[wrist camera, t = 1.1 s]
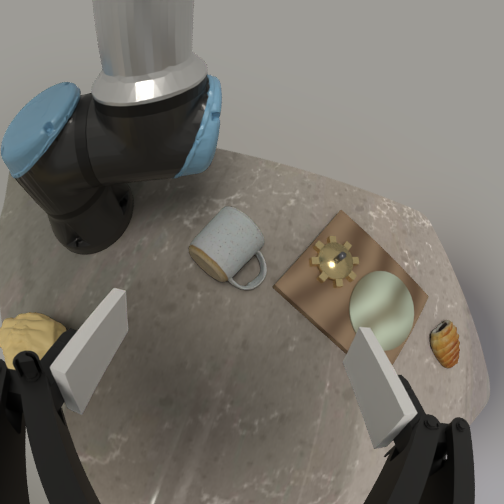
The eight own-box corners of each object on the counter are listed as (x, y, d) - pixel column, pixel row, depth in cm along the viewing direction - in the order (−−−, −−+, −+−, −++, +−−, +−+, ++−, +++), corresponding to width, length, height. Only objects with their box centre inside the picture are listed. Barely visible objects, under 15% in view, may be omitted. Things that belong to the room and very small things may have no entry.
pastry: (457, 355, 40) (470, 354, 36) (439, 376, 38) (453, 376, 34) (443, 318, 42) (456, 314, 39) (424, 336, 40) (437, 334, 37)
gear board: (272, 287, 40) (275, 283, 38) (337, 213, 46) (342, 208, 44) (376, 380, 36) (383, 381, 34) (423, 298, 43) (430, 295, 41)
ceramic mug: (186, 258, 39) (182, 238, 32) (222, 221, 42) (225, 195, 35) (242, 305, 38) (250, 295, 31) (276, 264, 41) (290, 245, 34)
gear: (298, 263, 40) (306, 254, 37) (327, 229, 43) (336, 219, 39) (337, 298, 39) (348, 293, 36) (363, 262, 42) (375, 254, 38)
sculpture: (83, 318, 34) (46, 304, 24) (90, 397, 30) (53, 408, 20) (29, 317, 32) (-12, 304, 22) (33, 389, 28) (-8, 393, 18)
